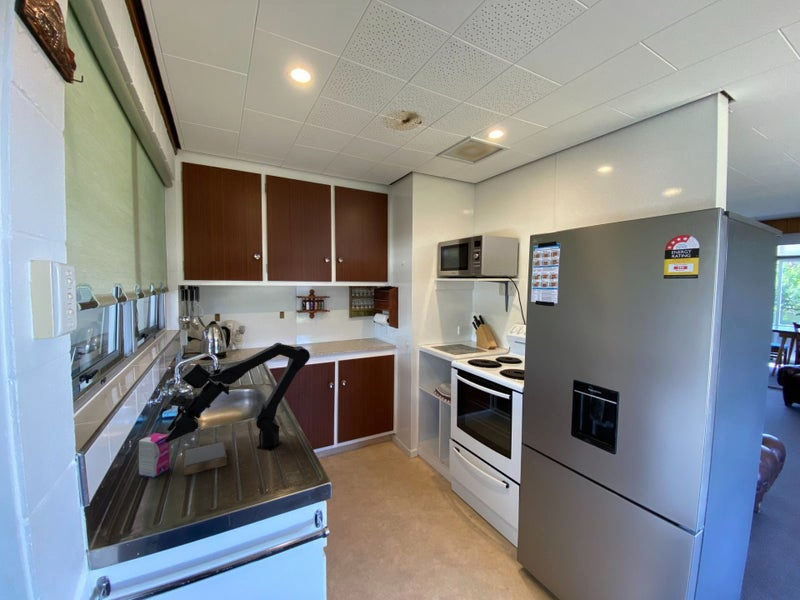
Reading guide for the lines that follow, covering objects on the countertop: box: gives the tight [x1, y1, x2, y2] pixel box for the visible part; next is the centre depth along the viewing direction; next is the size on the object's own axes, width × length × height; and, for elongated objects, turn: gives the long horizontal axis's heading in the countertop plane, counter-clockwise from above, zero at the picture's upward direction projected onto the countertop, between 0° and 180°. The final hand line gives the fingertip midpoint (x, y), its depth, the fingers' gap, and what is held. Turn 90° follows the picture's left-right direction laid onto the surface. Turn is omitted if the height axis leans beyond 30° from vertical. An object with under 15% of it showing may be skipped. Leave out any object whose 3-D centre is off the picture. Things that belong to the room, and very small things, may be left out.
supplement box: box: [138, 432, 170, 479], centre depth 106 cm, size 6×6×12 cm
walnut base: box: [183, 441, 228, 476], centre depth 113 cm, size 12×12×3 cm
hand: (167, 435), depth 108 cm, fingers open, 9 cm apart
